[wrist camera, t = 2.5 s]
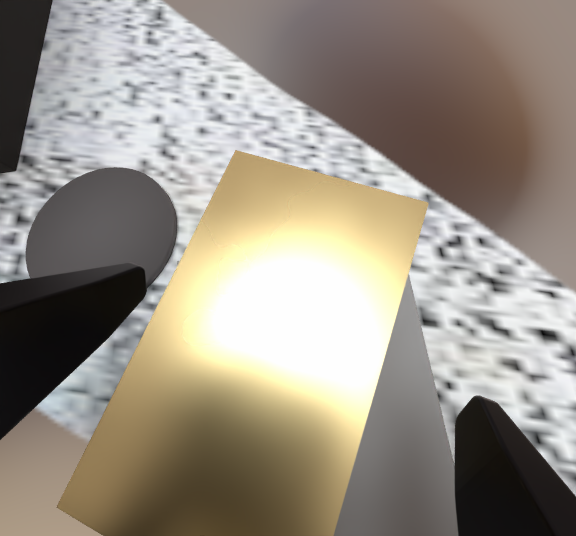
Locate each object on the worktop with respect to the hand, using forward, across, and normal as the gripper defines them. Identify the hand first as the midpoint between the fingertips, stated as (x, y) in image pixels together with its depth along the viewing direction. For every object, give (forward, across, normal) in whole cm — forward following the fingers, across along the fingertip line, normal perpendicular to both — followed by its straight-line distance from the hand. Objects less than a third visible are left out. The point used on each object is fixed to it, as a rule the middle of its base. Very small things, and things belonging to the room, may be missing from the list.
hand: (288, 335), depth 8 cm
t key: (+5, 0, +6) cm, 8 cm away
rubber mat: (+7, +13, +4) cm, 16 cm away
